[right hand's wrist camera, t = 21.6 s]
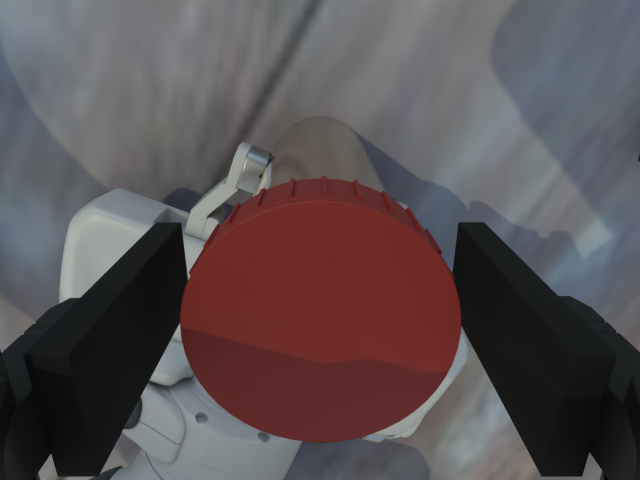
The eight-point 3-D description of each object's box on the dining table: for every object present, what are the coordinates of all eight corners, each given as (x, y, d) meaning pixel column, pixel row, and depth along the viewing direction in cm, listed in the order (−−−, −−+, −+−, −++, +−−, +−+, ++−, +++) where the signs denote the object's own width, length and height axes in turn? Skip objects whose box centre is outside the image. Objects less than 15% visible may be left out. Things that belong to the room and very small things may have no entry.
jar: (379, 131, 26) (469, 241, 10) (352, 220, 28) (393, 424, 12) (285, 105, 26) (229, 179, 10) (264, 198, 28) (190, 381, 12)
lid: (381, 419, 14) (391, 474, 12) (170, 353, 13) (145, 400, 11) (489, 230, 11) (520, 262, 10) (240, 133, 11) (225, 148, 9)
